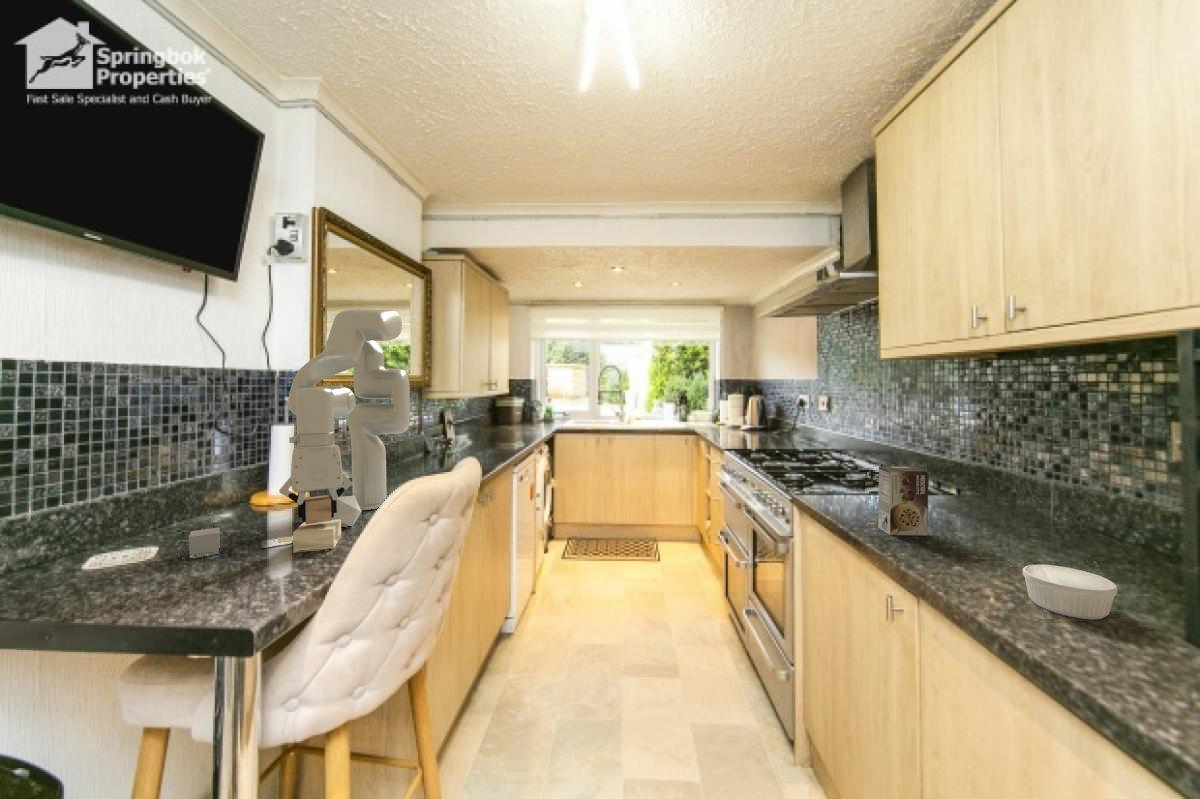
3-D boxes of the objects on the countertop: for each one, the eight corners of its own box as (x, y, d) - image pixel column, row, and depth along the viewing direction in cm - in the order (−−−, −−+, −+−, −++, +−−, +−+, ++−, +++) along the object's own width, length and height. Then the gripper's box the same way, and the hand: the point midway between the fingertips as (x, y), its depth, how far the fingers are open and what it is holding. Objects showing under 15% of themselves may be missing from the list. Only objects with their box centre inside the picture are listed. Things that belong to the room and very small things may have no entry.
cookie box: (914, 528, 124) (915, 466, 123) (928, 536, 117) (930, 470, 117) (876, 527, 124) (877, 465, 124) (889, 535, 118) (890, 470, 117)
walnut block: (304, 519, 112) (303, 498, 112) (328, 515, 115) (328, 495, 115) (306, 524, 108) (305, 502, 108) (331, 520, 111) (331, 499, 111)
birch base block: (303, 543, 115) (303, 522, 114) (341, 539, 117) (340, 519, 117) (293, 554, 107) (293, 532, 107) (333, 550, 109) (333, 528, 109)
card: (260, 542, 114) (260, 540, 114) (299, 536, 119) (299, 534, 119) (260, 549, 110) (260, 547, 110) (301, 542, 114) (301, 540, 114)
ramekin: (1004, 593, 86) (1005, 564, 85) (1063, 591, 86) (1064, 562, 86) (1070, 625, 74) (1071, 591, 74) (1136, 622, 75) (1138, 589, 75)
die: (321, 528, 128) (313, 505, 122) (346, 505, 134) (340, 483, 129) (344, 541, 126) (338, 518, 120) (370, 518, 133) (364, 495, 127)
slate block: (191, 553, 108) (191, 531, 107) (220, 548, 110) (219, 527, 110) (189, 560, 103) (188, 537, 103) (219, 554, 106) (218, 532, 106)
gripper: (272, 445, 103) (274, 529, 104) (359, 439, 113) (361, 516, 114) (271, 441, 109) (273, 521, 110) (354, 436, 119) (355, 509, 120)
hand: (317, 517), depth 112 cm, fingers closed on walnut block, 4 cm apart
